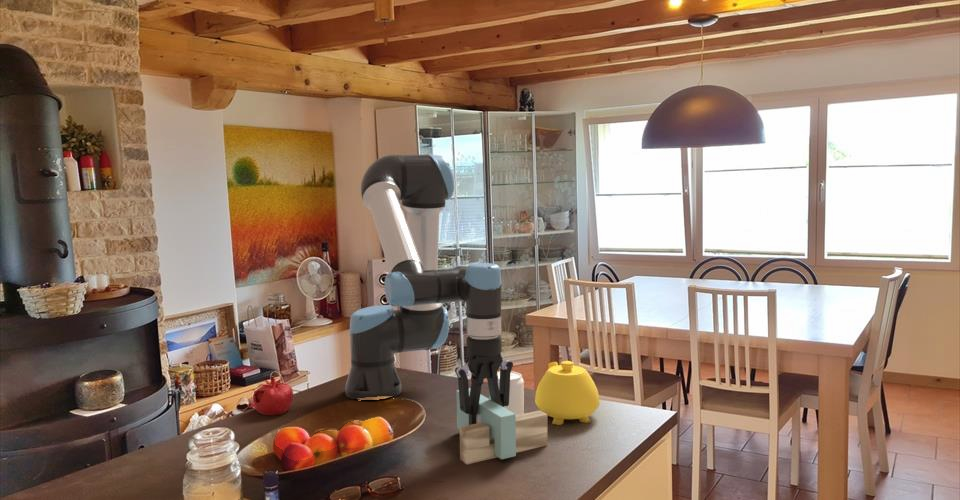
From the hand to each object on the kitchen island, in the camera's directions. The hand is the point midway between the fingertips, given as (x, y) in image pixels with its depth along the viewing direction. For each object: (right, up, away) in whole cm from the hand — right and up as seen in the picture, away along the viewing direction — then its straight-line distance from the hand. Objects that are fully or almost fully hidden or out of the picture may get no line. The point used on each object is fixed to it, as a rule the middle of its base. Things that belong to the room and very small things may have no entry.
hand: (485, 440), depth 152 cm
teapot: (+20, +1, +20) cm, 28 cm away
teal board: (0, 0, 0) cm, 0 cm away
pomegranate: (-53, 0, +24) cm, 59 cm away
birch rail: (+4, -2, -3) cm, 6 cm away
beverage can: (+5, 0, +13) cm, 14 cm away
